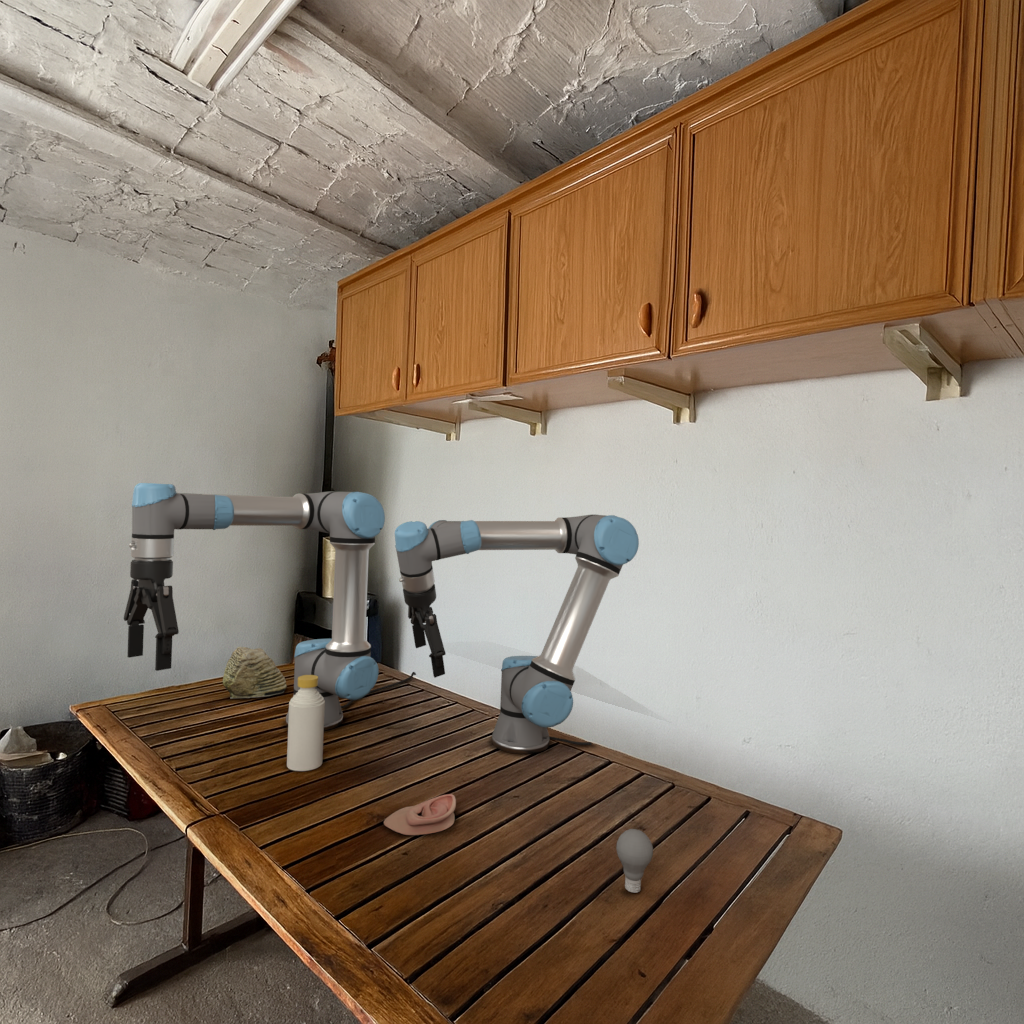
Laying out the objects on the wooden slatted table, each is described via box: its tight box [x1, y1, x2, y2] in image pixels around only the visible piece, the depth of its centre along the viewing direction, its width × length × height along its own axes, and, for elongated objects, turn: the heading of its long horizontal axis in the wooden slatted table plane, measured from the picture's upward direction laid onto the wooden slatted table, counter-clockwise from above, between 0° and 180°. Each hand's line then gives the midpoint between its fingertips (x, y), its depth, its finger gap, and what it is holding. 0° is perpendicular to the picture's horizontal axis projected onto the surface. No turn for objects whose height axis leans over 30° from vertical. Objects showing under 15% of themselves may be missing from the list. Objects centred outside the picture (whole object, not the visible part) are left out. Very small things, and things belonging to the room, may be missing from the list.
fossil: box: [222, 646, 288, 699], centre depth 198 cm, size 9×18×15 cm, turn 132°
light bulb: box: [615, 828, 654, 894], centre depth 106 cm, size 6×6×10 cm
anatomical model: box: [383, 793, 457, 836], centre depth 125 cm, size 13×4×12 cm
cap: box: [298, 675, 318, 688], centre depth 149 cm, size 5×5×2 cm
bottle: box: [286, 687, 325, 772], centre depth 149 cm, size 8×8×20 cm
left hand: (148, 662), depth 129 cm, fingers open, 13 cm apart
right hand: (429, 660), depth 157 cm, fingers open, 13 cm apart
